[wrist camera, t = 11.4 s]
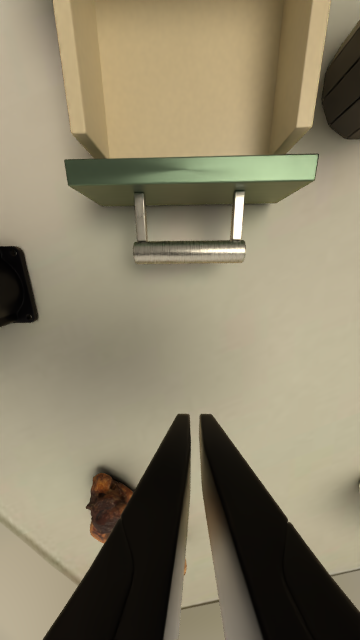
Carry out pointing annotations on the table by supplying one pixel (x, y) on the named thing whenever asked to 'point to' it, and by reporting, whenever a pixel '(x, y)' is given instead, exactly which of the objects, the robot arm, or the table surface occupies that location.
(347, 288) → the table surface
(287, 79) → the drawer
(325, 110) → the black cup
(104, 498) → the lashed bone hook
